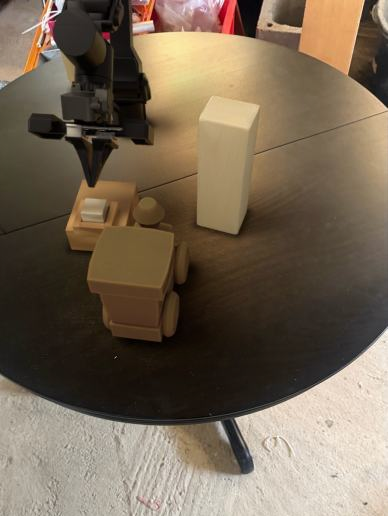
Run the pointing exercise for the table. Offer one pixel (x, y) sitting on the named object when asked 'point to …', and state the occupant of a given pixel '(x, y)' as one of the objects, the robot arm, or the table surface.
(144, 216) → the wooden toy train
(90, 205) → the white rounded block
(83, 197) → the box with white insert
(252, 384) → the table surface
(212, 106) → the tall cream block
